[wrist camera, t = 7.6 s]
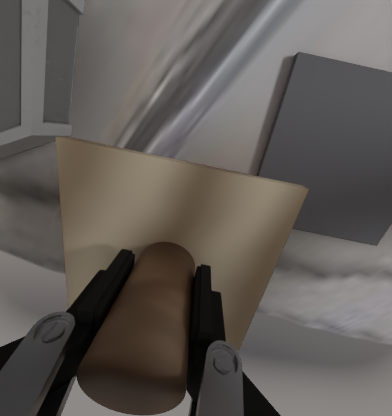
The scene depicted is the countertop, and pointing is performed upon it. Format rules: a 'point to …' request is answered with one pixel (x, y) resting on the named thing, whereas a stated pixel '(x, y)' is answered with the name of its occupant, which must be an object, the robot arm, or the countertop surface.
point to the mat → (335, 147)
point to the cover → (164, 259)
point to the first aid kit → (36, 71)
